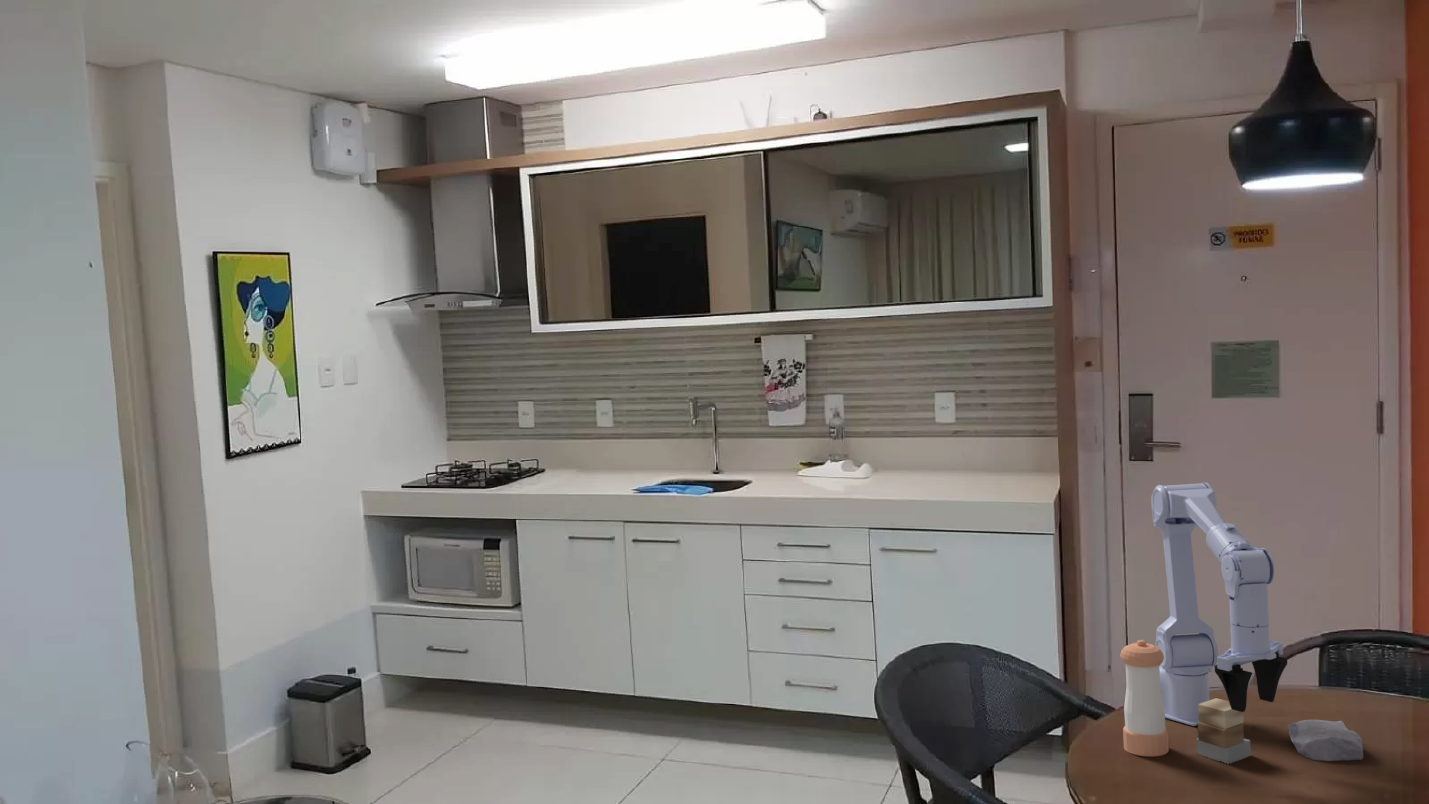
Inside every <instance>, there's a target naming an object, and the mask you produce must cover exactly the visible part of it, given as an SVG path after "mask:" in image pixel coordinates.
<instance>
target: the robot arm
mask: <svg viewBox="0 0 1429 804" xmlns="http://www.w3.org/2000/svg"><path fill="white" fill-rule="evenodd" d="M1150 503H1151V504H1150V505H1151V516H1152V522H1153V527H1155V528H1156V529H1159V530H1161V534H1162V541H1163V553H1164V563H1165V574H1166V585H1167V594H1168V596H1167V597H1168V604H1169V617H1168V618H1167V619H1166V620H1165V621H1163V623H1161V624H1160V625H1158V627H1157V628H1155V629H1156V631H1155V637H1156V638H1155V643H1154V646H1157V647H1158V648H1160V650H1161V651H1162V653H1163V656H1164V659H1163V662H1162V664H1161V665H1159V670H1160V689H1161V694H1162V699H1163V704H1164V709H1165V719H1168V720H1172V721H1176V722H1178V723H1182V724H1185V725H1189V726H1192V727H1196V726H1198V723H1199V714H1198V704H1200V703H1203V702H1206V701H1209V700H1210V684H1209V683H1210V682H1209V679H1210V678H1209V673H1212V672H1213V669H1212V668H1214V673H1215V674H1216V675H1217V677H1218V679H1219V680H1220V682H1221V685H1222V686H1223V688H1224V691H1225V693H1226V696H1227V699H1228V700H1227V701H1229V703H1230V706H1231V709H1232V710H1236V711H1240V712H1243V713H1244V712H1246V708H1247V700H1248V699H1247V698H1248V688H1249V683H1250V680H1251V678H1252V676H1253V672H1251V671H1247V670H1244V668H1242V666H1243V665H1246V664H1250V663H1251V664H1252V668H1253V669H1254V673H1255V677H1256V678H1255V679H1256V687H1257V693H1258V698H1259V700H1261V701H1265V702H1268V703H1273V702H1274V700H1275V697H1276V693H1277V690H1278V686H1279V681H1280V679H1281V677H1282V674H1283V672H1284V670H1285V669H1286V667H1287V665H1288V659H1287V658H1285V657H1284V656H1282V655H1284V643H1283V642H1278V641H1275V640H1274V641H1273V640H1270V622H1269V620H1270V618H1269V593H1268V585H1271V583H1273V580H1274V577H1275V565H1274V561H1273V558H1272V556H1271V554H1270V553H1269V551H1268V550H1267V548H1264V547H1261V548H1259V546H1253V545H1252V543H1251V542H1250V541H1249V540H1248V539H1247V537H1246V536H1245V535H1244V534H1243V533H1242V531H1241V530H1240V529H1239V528H1238V527H1237V526H1236V525H1235V524H1234V523H1229V522H1225V520H1224V519H1223V518H1224V517H1222V515H1221V514H1220V512H1219V511H1218V509H1217V496H1216V493H1215V489H1214V487H1212V486H1211V485H1210V484H1209V482H1207V481H1205V482H1201V483H1189V484H1188V483H1187V484H1185V483H1184V484H1168V485H1162V484H1158V485H1156V486H1155V488H1154V489H1153V490H1152V494H1151V498H1150ZM1196 527H1198V528H1200V530H1202V532H1204V534H1205V535H1206V536H1205V544H1206V546H1207V547H1208V549H1209V550H1210V551H1211V553H1212V554H1213V555H1214V557H1215V558H1216V559H1217V561H1219V564H1221V565H1220V570H1221V574H1222V577H1223V580H1224V589H1225V593H1226V595H1228V598H1229V620H1230V621H1229V626H1230V627H1229V629H1230V647H1229V649H1227V650H1226V651H1225V652H1224V653H1223V654H1221V655H1219V647H1218V644H1217V641H1216V637H1215V632H1214V629H1213V627H1212V626H1211V625H1210V624H1208V623H1207V622H1205V621H1204V620H1202V619H1201V618H1199V616H1200V615H1199V608H1198V597H1197V587H1196V575H1195V567H1194V566H1195V564H1194V556H1193V554H1194V553H1193V544H1192V533H1193V532H1194V530H1195V528H1196Z"/></svg>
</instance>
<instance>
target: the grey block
mask: <svg viewBox="0 0 1429 804" xmlns="http://www.w3.org/2000/svg"><path fill="white" fill-rule="evenodd" d="M1195 743H1196V745H1195V746H1196V754H1197V753H1198V754H1201V755H1203V756H1202V757H1204V756H1206V757H1205V758H1207V757H1208V759H1211V760H1214V761H1217V762H1220V761H1222V762H1221V763H1223V762H1224V764H1226V763H1227V765H1230V764H1232V762H1233V763H1235V761H1236V762H1238V761H1242V760H1243V759H1246V757H1247V758H1249V757H1251V756H1252V752H1251V751H1252V750H1251V746H1252V745H1251V740H1250V739H1247V738H1244V742H1242V743H1239V744H1236V745H1233V746H1230V747H1228V748H1222V747H1218V746H1215V745H1212V744H1209V743H1206V742H1202V741H1199V739H1198V737H1197V738H1196V739H1195ZM1198 754H1197V755H1198ZM1201 755H1200V756H1201ZM1248 756H1249V757H1248ZM1229 763H1230V764H1229Z"/></svg>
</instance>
